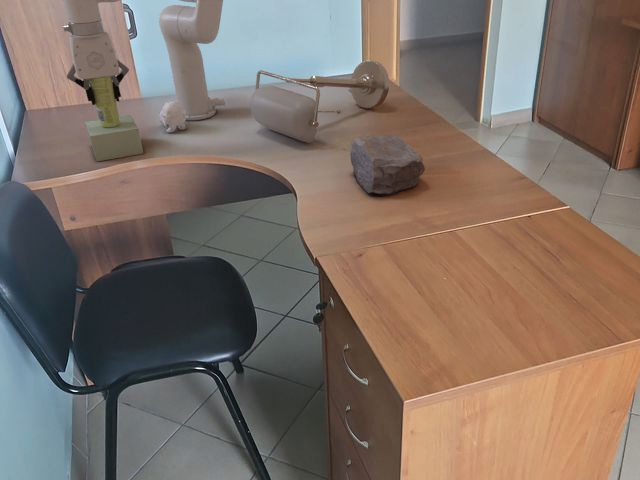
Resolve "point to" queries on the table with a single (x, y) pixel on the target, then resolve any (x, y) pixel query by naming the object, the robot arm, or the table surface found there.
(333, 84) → the lamp
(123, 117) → the block
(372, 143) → the stone block
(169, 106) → the white irregular rounded piece
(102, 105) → the tube
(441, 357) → the table surface
